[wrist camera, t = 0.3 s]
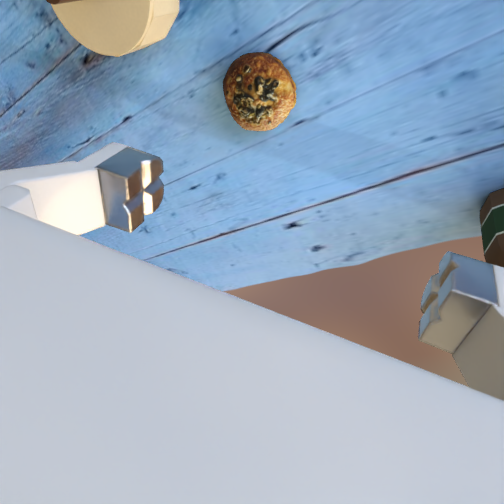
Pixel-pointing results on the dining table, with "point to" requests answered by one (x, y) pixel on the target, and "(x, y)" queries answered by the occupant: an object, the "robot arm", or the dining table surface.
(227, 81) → the bread roll
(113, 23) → the lid
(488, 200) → the beer bottle
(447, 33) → the dining table surface
